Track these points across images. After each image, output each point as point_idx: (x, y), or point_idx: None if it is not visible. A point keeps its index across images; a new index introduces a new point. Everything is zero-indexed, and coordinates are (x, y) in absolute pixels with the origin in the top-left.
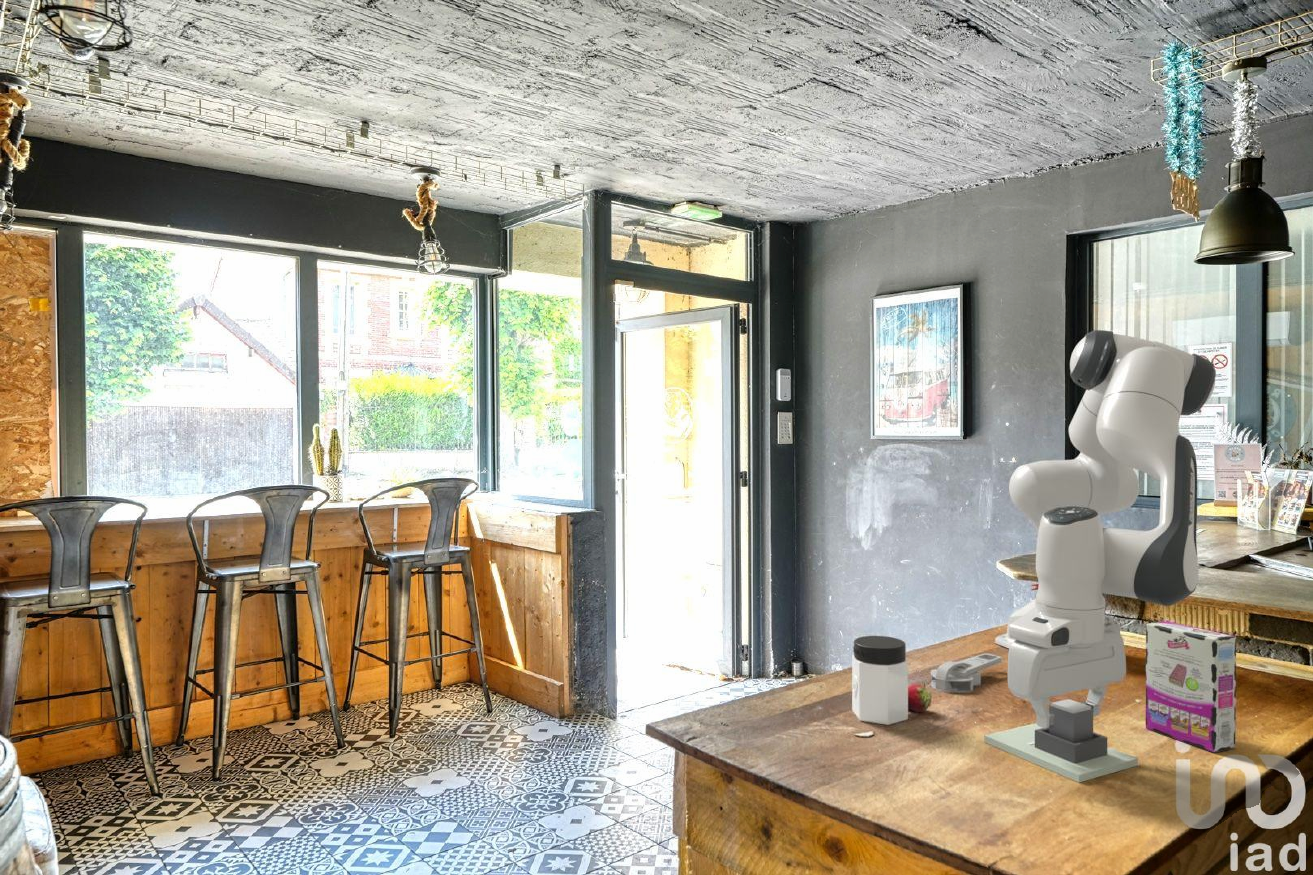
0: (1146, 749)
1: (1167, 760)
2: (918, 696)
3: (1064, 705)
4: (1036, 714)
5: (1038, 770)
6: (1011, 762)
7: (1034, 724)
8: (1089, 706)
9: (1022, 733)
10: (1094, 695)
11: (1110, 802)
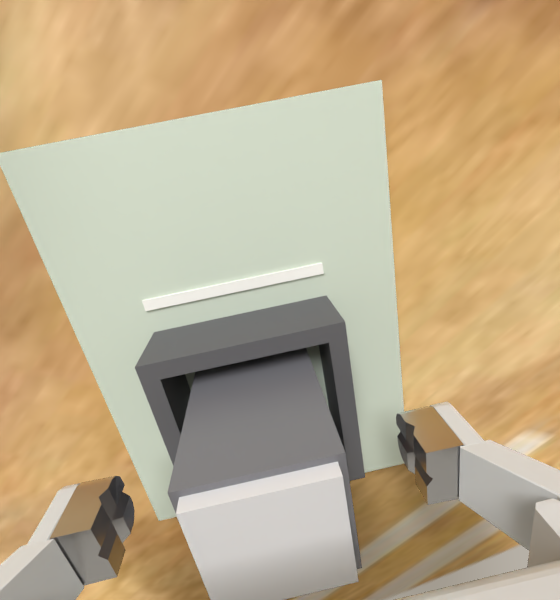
0: (521, 367)
1: (495, 435)
2: None
3: (226, 555)
4: (35, 532)
5: (96, 424)
6: (36, 358)
7: (326, 102)
8: (351, 579)
9: (195, 191)
10: (507, 504)
11: (166, 581)
